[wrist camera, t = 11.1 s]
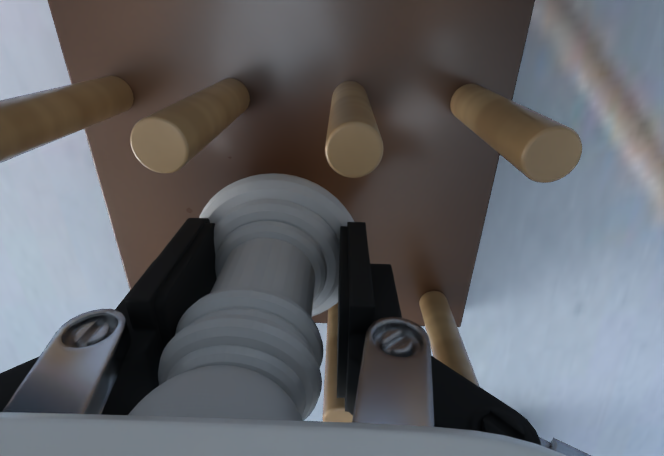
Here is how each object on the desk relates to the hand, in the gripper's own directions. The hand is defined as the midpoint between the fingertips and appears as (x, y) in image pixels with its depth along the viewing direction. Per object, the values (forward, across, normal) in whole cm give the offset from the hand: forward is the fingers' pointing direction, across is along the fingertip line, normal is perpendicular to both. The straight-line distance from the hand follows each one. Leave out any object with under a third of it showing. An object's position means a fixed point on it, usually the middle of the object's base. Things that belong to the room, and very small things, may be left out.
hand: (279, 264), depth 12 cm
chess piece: (+1, 0, 0) cm, 1 cm away
